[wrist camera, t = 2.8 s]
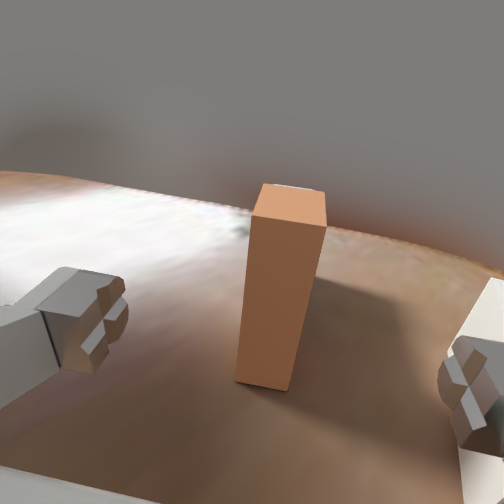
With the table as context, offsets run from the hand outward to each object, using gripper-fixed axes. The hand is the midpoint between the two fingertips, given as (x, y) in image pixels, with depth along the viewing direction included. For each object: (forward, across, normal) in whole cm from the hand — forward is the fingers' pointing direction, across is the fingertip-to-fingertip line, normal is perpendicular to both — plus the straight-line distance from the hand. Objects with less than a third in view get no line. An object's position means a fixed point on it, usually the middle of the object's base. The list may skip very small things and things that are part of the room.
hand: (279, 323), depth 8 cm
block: (+12, 0, +16) cm, 20 cm away
